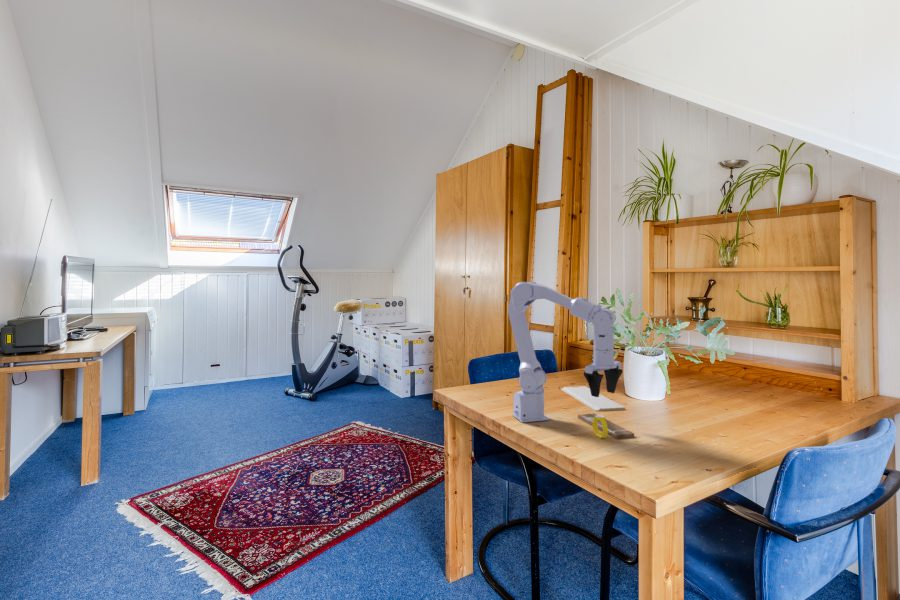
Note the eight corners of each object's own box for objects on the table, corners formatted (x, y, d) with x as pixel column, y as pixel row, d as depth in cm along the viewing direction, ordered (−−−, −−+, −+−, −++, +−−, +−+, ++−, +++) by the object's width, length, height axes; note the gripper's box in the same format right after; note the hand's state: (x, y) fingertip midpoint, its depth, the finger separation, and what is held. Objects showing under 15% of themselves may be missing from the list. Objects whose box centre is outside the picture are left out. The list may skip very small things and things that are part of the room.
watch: (590, 434, 131) (589, 414, 132) (599, 433, 132) (598, 413, 132) (601, 440, 126) (600, 418, 126) (610, 439, 126) (609, 418, 126)
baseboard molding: (591, 413, 153) (624, 411, 155) (592, 404, 153) (625, 403, 155) (557, 390, 184) (585, 389, 186) (557, 383, 184) (585, 382, 186)
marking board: (615, 438, 127) (615, 435, 127) (577, 417, 146) (577, 414, 146) (634, 436, 128) (634, 433, 128) (594, 416, 148) (594, 413, 148)
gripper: (599, 353, 127) (599, 401, 128) (629, 348, 136) (629, 393, 136) (579, 350, 133) (579, 396, 134) (609, 345, 141) (609, 388, 142)
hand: (603, 394), depth 135 cm, fingers open, 7 cm apart
